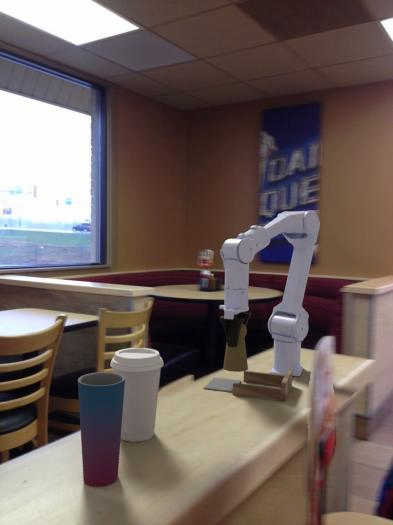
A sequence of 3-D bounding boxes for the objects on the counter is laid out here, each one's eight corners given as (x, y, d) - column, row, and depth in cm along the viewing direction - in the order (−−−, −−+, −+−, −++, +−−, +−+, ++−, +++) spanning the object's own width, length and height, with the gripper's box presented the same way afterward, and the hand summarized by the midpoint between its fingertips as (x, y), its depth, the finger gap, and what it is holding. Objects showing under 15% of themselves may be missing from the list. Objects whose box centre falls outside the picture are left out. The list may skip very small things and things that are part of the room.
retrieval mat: (214, 378, 121) (214, 377, 121) (241, 381, 119) (241, 380, 119) (203, 388, 113) (203, 387, 113) (232, 392, 110) (232, 391, 110)
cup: (81, 467, 73) (81, 372, 72) (125, 466, 74) (126, 371, 73) (73, 490, 66) (74, 385, 66) (122, 489, 67) (123, 385, 66)
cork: (248, 366, 117) (249, 321, 116) (247, 372, 111) (247, 325, 110) (224, 364, 118) (224, 321, 117) (221, 371, 112) (222, 325, 111)
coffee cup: (171, 429, 88) (173, 350, 87) (145, 450, 79) (146, 362, 79) (128, 420, 92) (129, 344, 91) (98, 439, 83) (99, 355, 83)
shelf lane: (244, 380, 120) (244, 364, 120) (292, 385, 116) (292, 369, 116) (232, 394, 109) (233, 377, 109) (285, 401, 105) (285, 383, 105)
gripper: (228, 284, 122) (226, 337, 122) (212, 290, 108) (210, 349, 109) (255, 286, 119) (253, 339, 120) (242, 292, 106) (240, 351, 106)
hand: (235, 344), depth 114 cm, fingers closed on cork, 5 cm apart
